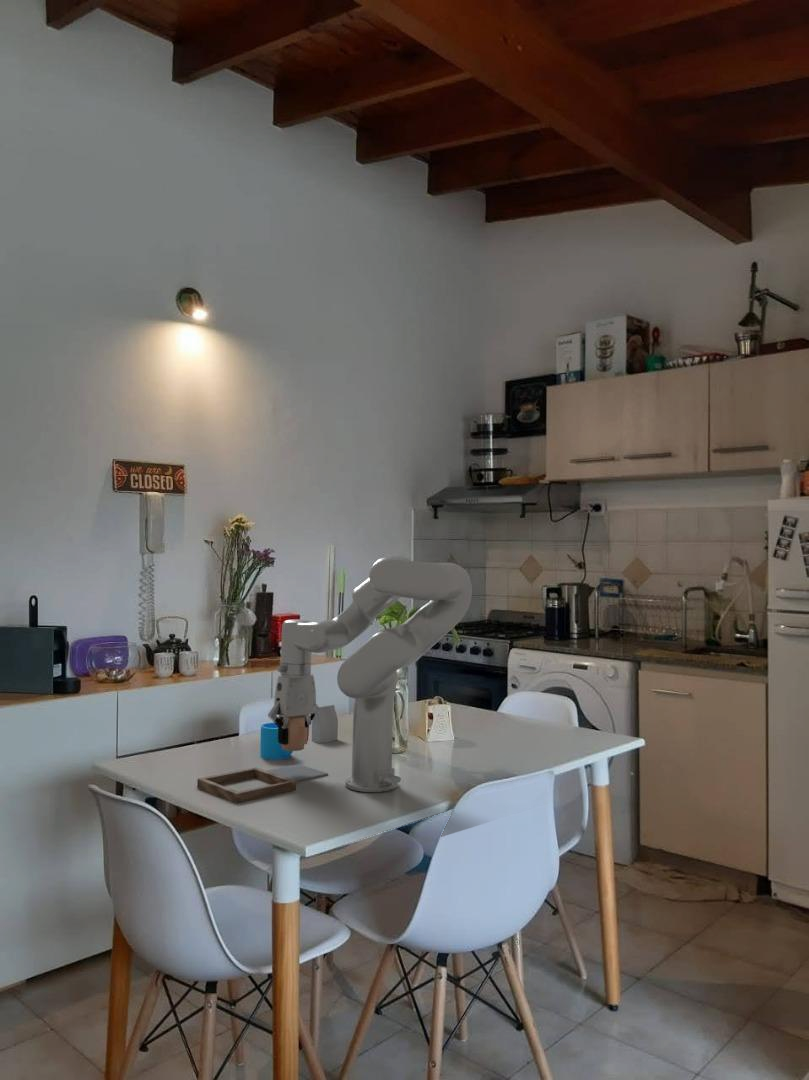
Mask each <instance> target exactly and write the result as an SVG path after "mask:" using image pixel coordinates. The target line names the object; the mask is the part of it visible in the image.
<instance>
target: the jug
mask: <svg viewBox="0 0 809 1080" xmlns="http://www.w3.org/2000/svg"><path fill="white" fill-rule="evenodd" d="M283 719H284V718H283ZM282 722H283V721H282ZM286 728H287V729H288V744H287V745H283V744H282V747H281V748H282V749H283V750H287V751H293V752H299V751H303V750H304V749H305V745H307V744H308V741H307V738H308V739H309V735H308V727H305V716H298V717H290V718H289V720H288V724H287V727H286Z"/></svg>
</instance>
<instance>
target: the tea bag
mask: <svg viewBox="0 0 809 1080" xmlns="http://www.w3.org/2000/svg"><path fill="white" fill-rule="evenodd" d="M318 707H319V711H318V712H317V714H316V715H315V717H314V718H313V720H312V721H311V742H315V743H317V744H324V743H329V742H335V741H338V733H339V732H338V731H339V730H338V729H339V719H338V716H337V711H336V709H335V707H336V706H335V704H331V705H324V706H318Z"/></svg>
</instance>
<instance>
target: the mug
mask: <svg viewBox="0 0 809 1080" xmlns="http://www.w3.org/2000/svg"><path fill="white" fill-rule="evenodd" d="M259 745H260V749H259V753H260V754H259V755H260V757H261V758H262V759H265V760H284V759H288V758H290V757H291V755H292V754H293V752H294V751H287V750H283V749H282V748H281V747H282V744H280V743H278V727H277V726H276V724H275V723H274V722H267V723H263V724H261V725H260V744H259Z"/></svg>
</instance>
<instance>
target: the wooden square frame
mask: <svg viewBox="0 0 809 1080" xmlns="http://www.w3.org/2000/svg"><path fill="white" fill-rule="evenodd" d="M253 778H255V779H258V780H261V781H264V782H267V783H270V784H269V785H264V786H259V787H255V788H249V789H245V790H241V791H237V790H235V789H233V788H229V787H226V786H223V784H224V785H225V784H228V783H233V782H238V781H243V780H249V779H253ZM196 781H197V783H196V784H197V787H196V788H198V789H201V790H203V791H206V792H208V793H210V794H213V795H216V796H218V797H220V798H223V799H226V800H227V801H229V802H230V801H231V802H232V803H233V802H234V803H236V804H237V803H242V802H247V801H252V800H256V799H261V798H264V797H271V796H274V795H279V794H283V793H287V792H292V791H296V790H297V782H296V781H294V780H291V779H288V778H285V777H283V776H280V775H277V774H274V773H271V772H268V771H266V770H264V769H262V768H258V767H251V768H246V769H241V770H236V771H231V772H226V773H220V774H215V775H211V776H210V775H209V776H205V777H200V778H197V780H196Z"/></svg>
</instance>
